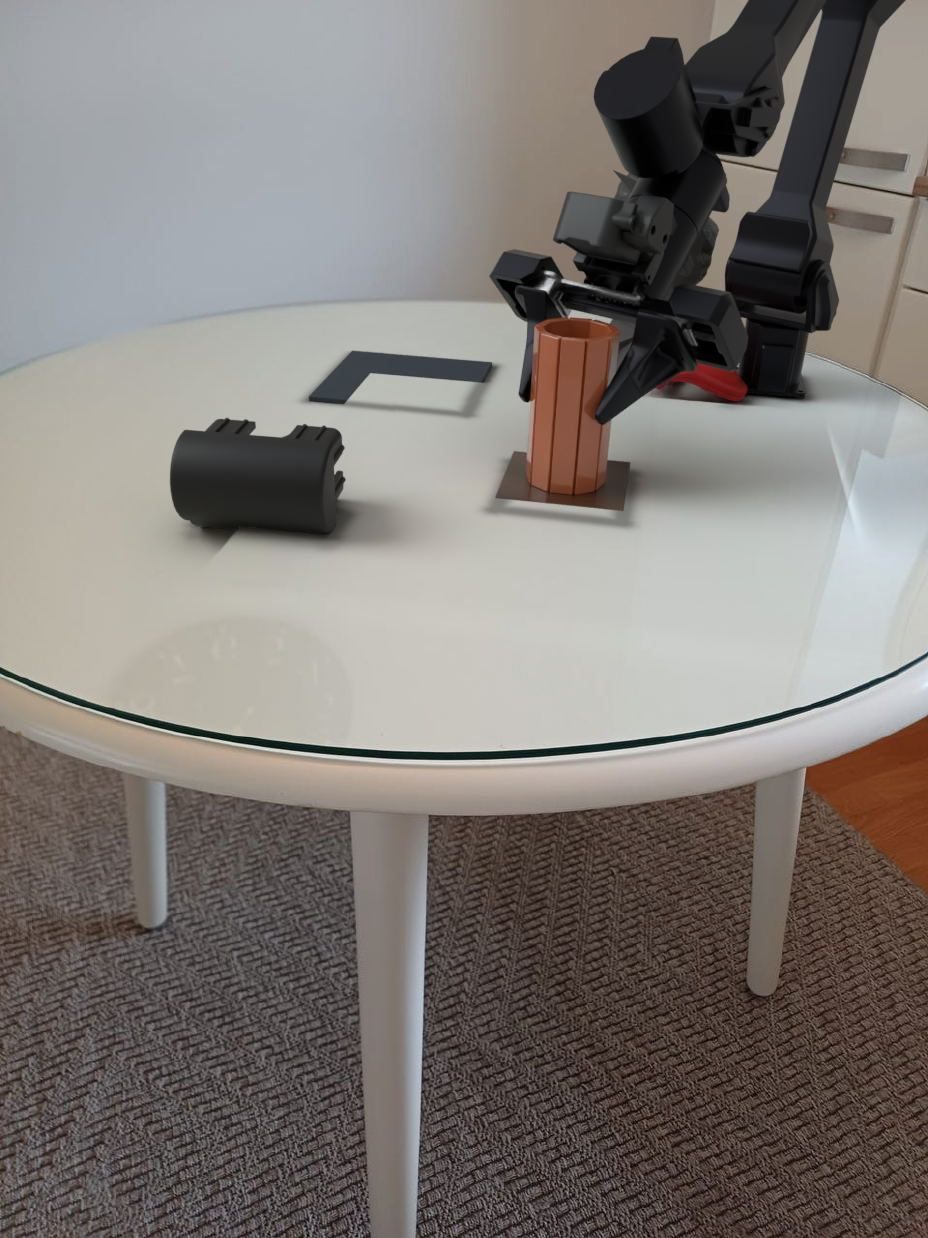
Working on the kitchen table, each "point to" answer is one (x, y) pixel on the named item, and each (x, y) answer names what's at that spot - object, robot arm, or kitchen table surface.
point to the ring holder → (603, 498)
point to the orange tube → (570, 404)
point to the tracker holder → (714, 382)
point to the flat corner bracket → (393, 372)
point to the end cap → (257, 477)
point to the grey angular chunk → (701, 261)
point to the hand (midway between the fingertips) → (559, 410)
